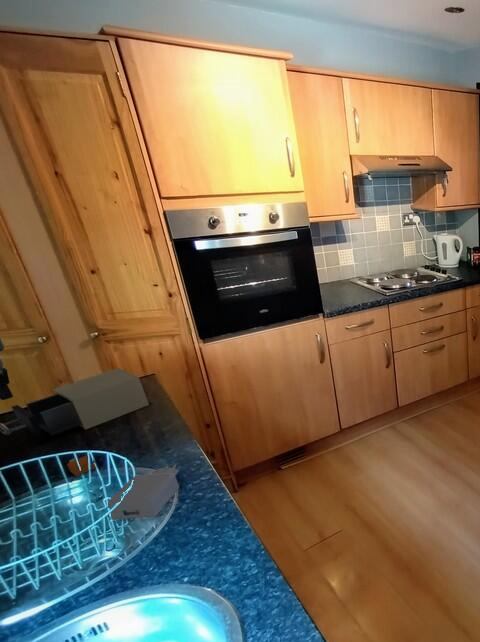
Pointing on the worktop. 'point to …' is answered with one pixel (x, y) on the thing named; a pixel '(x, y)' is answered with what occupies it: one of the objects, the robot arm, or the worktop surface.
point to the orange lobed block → (83, 463)
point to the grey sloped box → (104, 396)
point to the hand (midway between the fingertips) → (6, 398)
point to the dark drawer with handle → (45, 417)
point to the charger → (145, 494)
